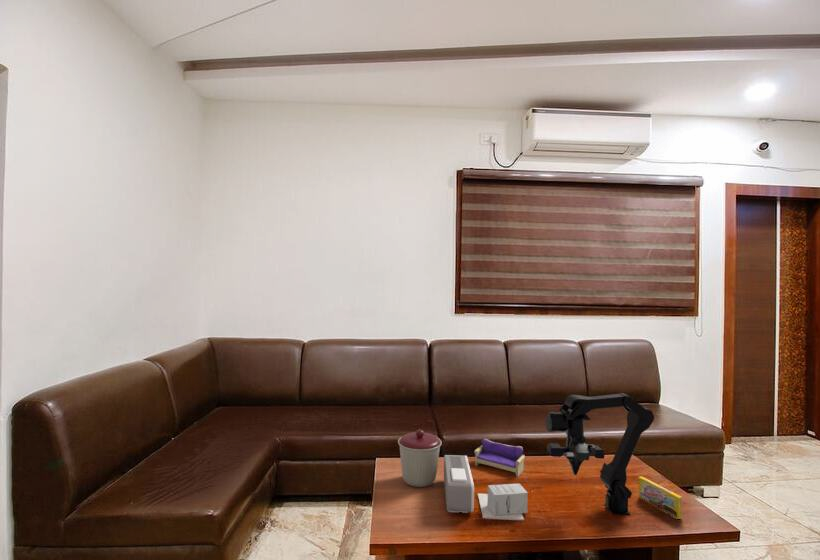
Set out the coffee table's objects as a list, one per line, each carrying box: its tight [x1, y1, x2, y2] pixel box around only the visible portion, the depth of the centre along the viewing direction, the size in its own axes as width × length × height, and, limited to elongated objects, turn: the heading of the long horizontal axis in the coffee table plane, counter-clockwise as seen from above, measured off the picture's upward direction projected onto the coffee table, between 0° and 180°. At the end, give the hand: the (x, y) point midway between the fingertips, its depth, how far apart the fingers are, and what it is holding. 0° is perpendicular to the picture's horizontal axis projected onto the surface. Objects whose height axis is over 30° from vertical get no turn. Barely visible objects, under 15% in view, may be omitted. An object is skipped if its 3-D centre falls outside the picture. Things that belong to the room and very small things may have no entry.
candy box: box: [638, 475, 683, 520], centre depth 150 cm, size 16×2×8 cm, turn 20°
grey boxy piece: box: [443, 454, 475, 514], centre depth 155 cm, size 27×9×12 cm, turn 178°
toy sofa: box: [473, 438, 526, 477], centre depth 181 cm, size 21×9×10 cm, turn 57°
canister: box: [397, 429, 443, 488], centre depth 167 cm, size 18×18×21 cm
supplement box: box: [487, 483, 529, 515], centre depth 146 cm, size 7×7×13 cm
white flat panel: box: [477, 492, 525, 521], centre depth 148 cm, size 14×16×1 cm
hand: (574, 474), depth 147 cm, fingers closed
